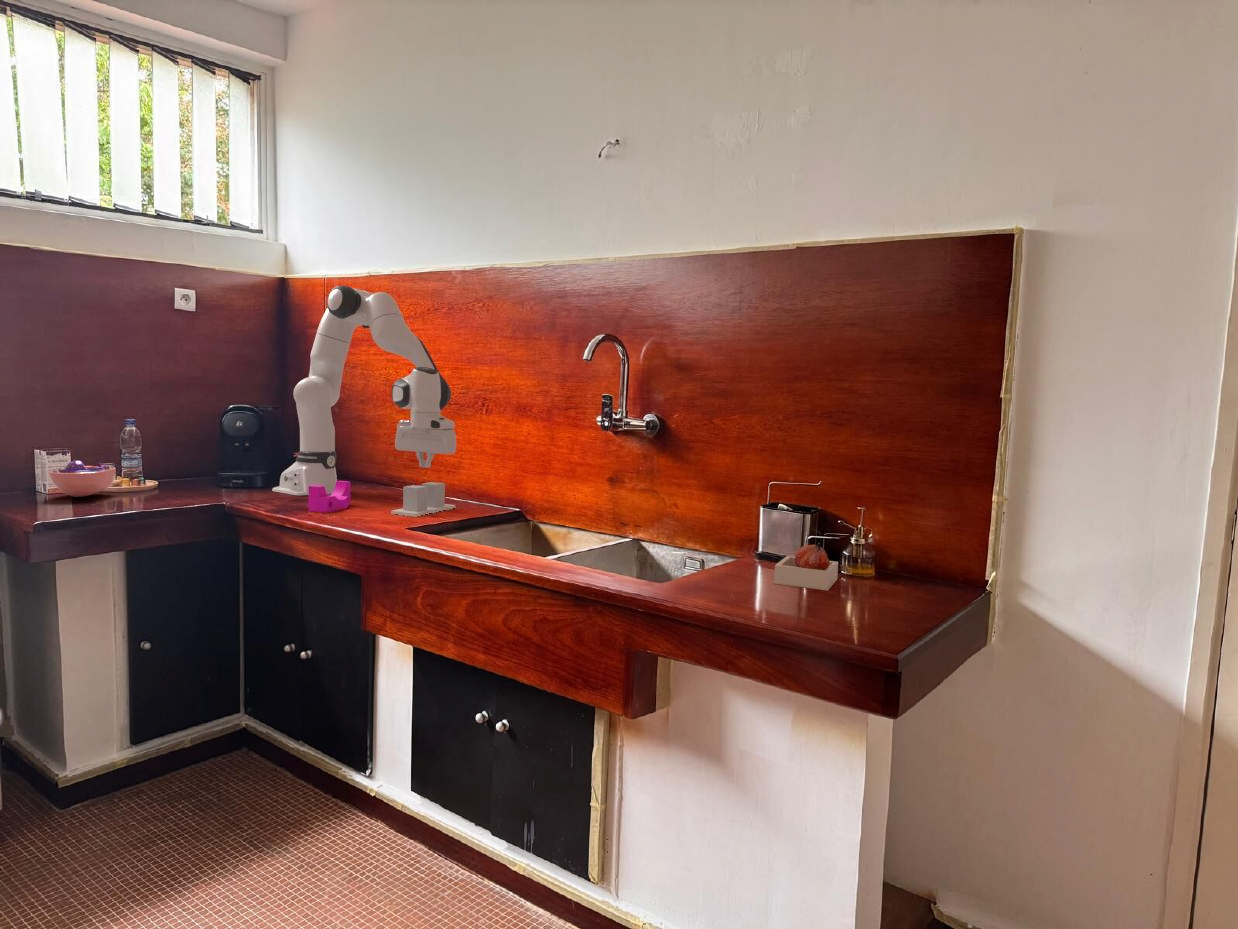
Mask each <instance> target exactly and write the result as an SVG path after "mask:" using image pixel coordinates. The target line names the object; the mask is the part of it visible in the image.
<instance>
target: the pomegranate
mask: <svg viewBox="0 0 1238 929" xmlns="http://www.w3.org/2000/svg"><path fill="white" fill-rule="evenodd" d="M794 557H795V564H796V566H798V567H801V568H809V569H817V570H826V569H827V568H828V567H829V561H830V560H829V557H828V553H827V552H826V550H825V549H824V548H822V547H821V543H820V542H818V543H817V544H808V545H807V544H806V545H803V546H801V547H800V548H799V549H798V550H797V551H796V553H795V555H794Z"/></svg>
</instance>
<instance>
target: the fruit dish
mask: <svg viewBox="0 0 1238 929" xmlns="http://www.w3.org/2000/svg"><path fill="white" fill-rule="evenodd" d="M838 572H839V561H833V560H829V567H828V568H827V569H826V570H817V569H809V568H801V567H798V566H796V564H795V556H791V555H786V556H785V557H783V558H782V559H781V560H779V562H777V563H776V564H775V565H774V576H773V584H775V585H782V586H783V585H784V586H790V587H798V588H805V589H813V590H821V591H829V590H830V589H831V588H832V586H833V585H834V584H835V582H837V580H838V574H839V573H838Z"/></svg>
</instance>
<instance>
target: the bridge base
mask: <svg viewBox="0 0 1238 929" xmlns="http://www.w3.org/2000/svg"><path fill="white" fill-rule="evenodd" d="M402 487H403V489H402V490H403V491H402V494H403V495H402V496H403V497H402V504H403V505H402V508H398V509H393V510H390V511H391V512H390V513H391V514H390V515H395V514H398V515H397V516H403V515H404V516H405V517H413V518H419V517H422V516H421V515H423V516H426V515H425V514H428V515H430V514H429V513H432V514H436V512H437V513H440V512H439V511H441V512H444V511H443V510H446V511H449V510H454V509H453V508H455V509H456V505H457V504H449V503H445V500H446V499H445V498H446V497H445V496H446V495H445V494H446V493H445V492H446V483H444V482H434V481H430V482H425V483H421V485H417V484H416V485H415V484H412V485H407V486H402ZM418 516H419V517H418Z"/></svg>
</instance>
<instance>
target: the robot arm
mask: <svg viewBox="0 0 1238 929" xmlns="http://www.w3.org/2000/svg"><path fill="white" fill-rule="evenodd" d="M326 307H327V308H326V310H325V311H324V314H323V315H322V317H321V320H320V322H319V325H318V327H317V331H316V334H315V338H314V341H313V345H312V349H311V351H310V356H309V357H310V364H309V365H310V366H309V373H308V377H305V378H303V379H302V380H300V381H299V382H297V384H296V385H295V386H294V388H293V399H294V401H295V403H296V404H295V406H296V411H297V412H296V413H297V417H298V423H299V451H298V452H294V453H293V454H295V455H293V457H296V458H295V462H293V463H292V465H290V466H289V467H288V468H287V469H285V470H284V471H282V473H281V475H280V478H279V486H275V487H272V490H271V491H272V492H276V493H281V494H287V495H291V496H309V486H312V485H319V486H325V490H326V493H327V495H331V494H332V493H333V491H334V489H335V486H336V481H338V479H337V478H338V476H337V470H336V462H337V451H336V441H335V440H336V437H335V436H336V430H335V429H336V428H335V425H334V422H333V417H332V416H333V415H332V407H333V406H335V405H336V404H337V402H338V401H339V399H340V396H341V387H342V383H343V382H342V381H343V375H344V367H345V363H346V359H347V355H348V352H349V349H350V345H351V343H352V337H353V333H354V332H355V329H357V328H358V327H359V326H362V328H363V329H369V331H370V333H371V337H372V340H373V341H374V343H375V344H376V346H377V347H379V348H380V349H381V350H383V351H385V352H388V353H391V354H394V355H398V356H400V357H403V358H405V359H407V360H409V361H410V362H411V363H413V365H414V366H415V367H414V368H413V369H412V370H411V373H410V374H408V375H406V376H405V377H402V378H397V380H396V381H395V382H394V383H393V385H392V387H391V400H392V401H393V403H394V405H395V406H397V408H400V409H404V410H410V420H406V419H401V420H400V421H399V422H398V423H397V424H396V434H395V442H394V447H395V449H396V450H397V451H404V452H415V456H416V458H417V460H418V462H419V463H418V464H419V465H418V466H419V467H420V468H426V469H429V468H431V466H432V464H431V462H433V459H434V457H435V454H438V455H441V454H442V455H453V454H455V453H456V452H457V434H456V431H455V430H454V429H455V427H456V423H455V421H453V420H451V419H449V418H448V417H447V418H446V417H444V416H443V415H442V414H441V412H442V410H443V409H444V408H445V407H447V405H448V404H449V403H450V401H451V398H452V391H451V387H450V386H449V383H448V382H447V380H445V378H444V377H443V376H442V374H441V373H440V371H439V369H438V367H437V365H436V364H435V362H434V360H433V358H432V356H431V354H430V353H429V351H428V349H427V347H426V346H425V344H424V342H423V341H422V340H421V339H420V338H419V337H418V336H417V335H415V333H413V332H412V331H411V329H410V328H409V327H408V325H407V323H406V322H405V321H406V320H405V319H404V316H403V314H402V312H401V310H400V308H399V306H398V304H397V302H396V301H395V299H394V298H393V296H392V295H391V294H389V293H387V292H384V291H383V292H382V291H381V292H375V293H372V292H370V291H367V290H364V289H358V288H355V287H351V286H349V285H337V286H334V287H333V288H332V289H331V290H330V291H329V293H328V295H327V297H326ZM425 453H426V454H425ZM424 456H426V460H425V459H424Z"/></svg>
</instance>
